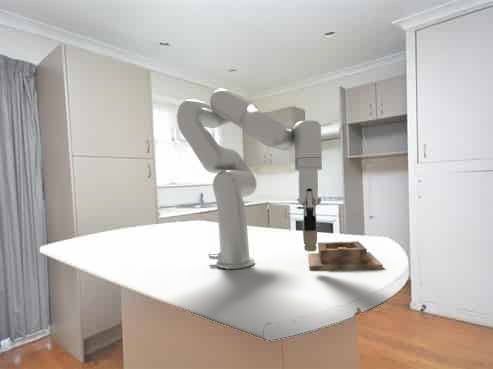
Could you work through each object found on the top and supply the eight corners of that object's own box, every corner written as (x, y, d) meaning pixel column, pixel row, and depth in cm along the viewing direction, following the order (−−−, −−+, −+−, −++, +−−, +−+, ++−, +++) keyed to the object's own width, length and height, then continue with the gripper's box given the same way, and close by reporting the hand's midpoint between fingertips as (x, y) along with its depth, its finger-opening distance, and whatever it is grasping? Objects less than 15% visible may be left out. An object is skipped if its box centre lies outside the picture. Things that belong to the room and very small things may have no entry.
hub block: (309, 270, 84) (308, 251, 84) (308, 256, 100) (307, 241, 100) (382, 269, 80) (381, 249, 80) (369, 255, 96) (368, 238, 96)
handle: (318, 253, 79) (317, 198, 79) (296, 251, 82) (295, 198, 82) (324, 250, 83) (323, 197, 83) (303, 247, 86) (301, 197, 86)
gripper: (295, 166, 91) (296, 224, 91) (294, 163, 75) (296, 234, 75) (319, 166, 90) (321, 224, 90) (324, 162, 74) (325, 234, 74)
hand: (309, 228), depth 83 cm, fingers closed on handle, 3 cm apart
